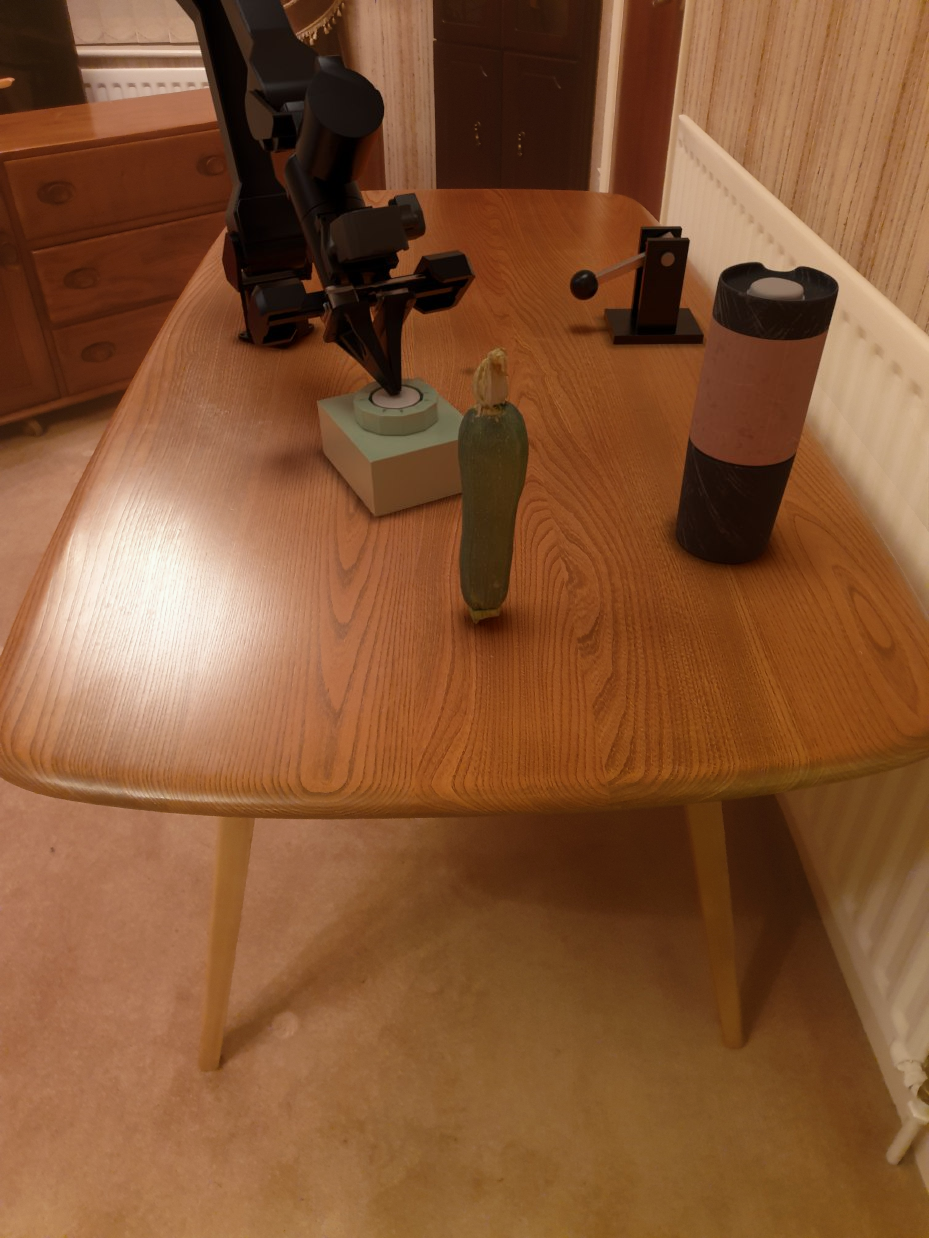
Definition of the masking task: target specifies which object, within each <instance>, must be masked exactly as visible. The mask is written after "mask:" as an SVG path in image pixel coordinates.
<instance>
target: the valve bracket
mask: <svg viewBox="0 0 929 1238" xmlns="http://www.w3.org/2000/svg"><path fill="white" fill-rule="evenodd" d="M668 232H671V234H672V235H673V237H674V238H657V237H659V236H661V235H664V234H666V233H668ZM682 234H683V227H682V225H667V226H666V225H665V226H663V225H662V226H661V225H659V226H658V225H657V226H656V225H654V226H651V225H650V226H649V225H648V226H647V225H646V226H640V231H639V238H638V246H637V254H636V255H639V254H641V253H643V252H645V258H644V266H642V267H639V268H637V269H635V270H634V271H635V272H634V279H633V289H632V297H631V304H630V308H604V310H603V311H604V312H603V320H604V323H605V325H606V328H607V330H608V333H609V336H610V339H611V342H612V345H615V346H617V345H618V346H619V345H625V346H626V345H703V343H704V336H705V334H704V332H703V331H702V329H701V327H700V325H699V323H698V321H697V320H696V318H695V316H694V314H693V312H692V311H691V309H690V308H689V307H681V302H682V301H681V300H682V295H683V288H684V282H685V275H686V269H687V263H688V258H689V257H688V256H689V252H690V251H689V250H690V243H691V239H690V238H689V237H682ZM646 242H647V243H646Z"/></svg>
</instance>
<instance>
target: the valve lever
mask: <svg viewBox="0 0 929 1238" xmlns="http://www.w3.org/2000/svg"><path fill="white" fill-rule="evenodd" d="M657 238H674V237H673V235H672V234H671V232H668V233H666V234H664V235H661V236H659V237H657ZM646 243H647V242H646ZM644 258H645V252H643V253H641V254H639V255H637V254H636V255H634V256H632V257H629V258H627V259H625V260H622V261H620V262H619V263H616V264H614V265H611V266H610V267H607V268H605V269H602V270H600V271H598V272H596V273H595V272H593V271H592V270H589V269H581V270H578V271H576V272H575V273H574V274H573V275H572V277H571V279H570V282H569V290H570V293H571V295H572V296H573V297H574V298H575V299H576V300H579V301H588V300H590V299H592V298H593V297H595V296H596V295H597V293H598V290H599V287H600V285H602V284H605V283H607V282H610V281H612V280H614V279H617V278H619V277H621V276H623V275H626V274H629V273H630V272H633V271H635V270H636V269H637V268H639V267H642V266H644Z"/></svg>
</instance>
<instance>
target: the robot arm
mask: <svg viewBox="0 0 929 1238" xmlns="http://www.w3.org/2000/svg"><path fill="white" fill-rule="evenodd" d="M175 2H176V3H177V4H178V5H179V7H180V8H181V9H182V10H183V12H184V13H185V14H186V15H187V17H188V18H189V19H190V20H191V21H192V23H193V25H194V28H195V33H196V37H197V41H198V45H199V49H200V50H199V51H200V54H201V57H202V58H201V59H202V62H203V66H204V71H205V74H206V79H207V83H208V87H209V91H210V96H211V99H212V105H213V109H214V113H215V116H216V121H217V127H218V129H219V133H220V137H221V142H222V147H223V150H224V155H225V159H226V162H227V163H226V164H227V167H228V171H229V176H230V180H231V184H232V190H231V194H230V197H229V199H228V204H227V207H226V209H225V210H226V211H225V214H224V221H225V226H226V230H227V231H226V232H225V234H224V240H223V249H222V256H221V263H222V268H223V271H224V275H225V279H226V281H227V282H228V283H229V284H230V286H231V287H232V288H233V289H234V290H235V291H236V292H237V293H239V295H240V301H241V307H242V313H243V319H244V326H245V330H243V331H242V332H240V333H239V334H238V335H237V336H238V340H240V341H245V342H250V343H253V344H254V346H255V347H258V348H265V347H269V346H270V347H275V348H281V349H285V348H288V347H290V346H291V345H292V344H294V343H296V342H297V341H299V340H300V339H302V338H303V337H304V336H307V334H309V333H310V332H312V331H313V330H315V328H316V327H315V324H314V323H310V322H309V320H310V319H316V318H319V319H320V321H321V323H323V326H324V328H325V329H324V331H323V334H322V340H323V342H324V343H325V344H331V343H332V344H333V343H334V344H335V345H337V346H338V347H339V348H340V349H342V350H343V351H344V352H345V353H347V355H349V356H350V357H351V358H353V359H354V361H356V362H357V363H358V364H359V365H360V366H361V367H362V368H363V369H364V370H365V371H366V372H367V373H368V374H369V375H370V376H371V377H372V378H373V380H374V381H377V382H378V384H379V385H380V386H381V387H382V388H383V389H384V390H385V391H386V392H387V393H388V394H389V395H390V396H393V395H397V394H399V393H400V392H401V390H402V379H403V378H402V377H403V376H402V375H403V374H402V369H403V368H402V334H403V326H404V324H405V322H406V320H407V318H408V317H409V315H410V314H411V312H412V310H413V309H414V310H416V311H417V312H419V313H420V314H422V315H431V314H435V313H439V312H445V311H450V310H451V309H453V308H455V307H457V306H458V305H459V303H460V301H461V300H462V299H463V297H464V296H465V294H466V292H467V291H468V289H469V288H470V286H471V285H472V283H473V282H474V280H475V279H476V277H477V276H476V274H475V270H474V268H473V266H472V263H471V260H470V258H469V257H468V256H467V255H466V254H465V253H464V252H462V251H461V250H459V249H455V250H450V251H448V250H447V251H443V252H436V253H432V254H426V255H422V256H421V258H420V259H419V262H418V263H417V265H416V267H415V269H414V271H413V273H410V274H405V275H399V276H395V277H392V275H391V270H395V269H396V270H397V267H398V265H399V263H400V259H399V256H398V253H400V252H402V251H403V252H407V251H408V250H410V245H409V241H416V240H418V239H419V238H421V237H423V236H424V235H425V234H426V231H427V225H426V220H425V215H424V211H423V207H422V206H421V203H420V201H419V199H418V197H417V194H416V192H410V193H402V194H396V195H395V196H393V198H390V199H388V201H387V205H385V206H379V207H373V205H368V206H367V205H366V201H365V200H364V196H363V194H362V191H361V188H360V186H359V183H358V179H359V178H361V177H362V176H363V174H364V173H365V172H366V170H367V168H368V164H369V161H370V158H371V156H372V153H373V151H374V147H375V144H376V141H377V138H378V136H379V135H378V134H379V132H380V129H381V127H382V123H383V120H384V117H385V110H386V109H385V107H386V106H385V102H384V98H383V96H382V94H381V91H380V90H379V89H377V88H376V87H375V85H374V84H373V83H372V82H371V81H370V80H369V79H368V78H367V77H365V76H364V75H362V74H361V73H359V72H358V71H355V70H353V69H350V68H348V67H346V66H345V63H344V60H343V57H342V55H340V54H334V55H332V54H331V55H321V54H320V53H319V52H318V51H316V50H315V49H314V48H312V47H311V46H309V45H308V44H307V43H305V42H304V41H302V40H301V39H299V37H298V36H297V34H296V32H295V30H294V29H293V26H292V23H291V21H290V19H289V16H288V14H287V11H286V9H285V6H284V4H283V1H282V0H175ZM288 152H293V153H292V154H290V156H289V157H288V158H287V160H286V162H285V165H284V168H283V171H282V177H283V180H284V184H285V186H284V185H283V184H282V182H281V181H280V180H279V179H278V177H277V174H276V170H275V164H274V161H273V156H272V154H279V153H288ZM313 265H314V268H315V271H316V274H317V276H318V280H319V282H320V285H321V288H322V290H317V291H312V292H307V291H306V288H305V285H304V282H303V281H311V280H312V279H313V277H312V274H313ZM372 319H373V320H372Z"/></svg>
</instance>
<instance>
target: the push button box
mask: <svg viewBox="0 0 929 1238" xmlns="http://www.w3.org/2000/svg"><path fill="white" fill-rule="evenodd" d="M402 386H403V387H409V388H412V389H414V390H416V391H417V392H418V393H419V394H420V402H419V403H418V404H416V405H415V406H412V407H407V408H403V409H384V408H381V407H377V406H374V405H373V404H372V396H373V394H374V393H375V392H377V391H378V390H380V389H383V388H382V387H381V386H380V385H379V384H378V382H377V381H376V380H374V381H371V382H369V383H366V385H364V386H362V387H361V388H359V389H358V390H357V389H356V391H354V392H349V393H345V394H344V393H343V394H340V395H335V396H331V397H327V398H323V399H318V400H316V403H317V404H316V405H317V411H318V412H317V413H318V421H319V428H320V435H321V443H322V451H323V454H324V455H325V457H326V458H327V460H328V461H329V462H330V463H331V464H332V465H333V467H334V468H335V469H336V470H337V472H338V473H339V474H340V475H341V477H342V478H343V479H344V480H345V482H346V483H347V484H348V485H349V487H350V488H351V489H352V490H353V492H354V493H355V494H356V495H357V496H358V498H359V499H360V500H361V501H362V503H363V504H364V505H365V506H366V508H367V509H368V510H369V511H370V512H371V514H372V515H373V517H375V518H379V517H382V516H385V515H388V514H392V513H395V512H400V511H402V510H403V511H404V510H406V509H410V508H413V507H416V506H420V505H424V504H428V503H430V502H434V501H437V500H441V499H445V498H448V497H451V496H455V495H458V494H462V485H461V478H460V467H459V461H458V433H459V428H460V425H461V422H462V419H463V417H464V414H462V413H461V412H460V411H459V410H458V409H457V408H455V407H454V406H453V405H452V404H451V403H450V402H449V401H448V400H446V398H444V397H443V396H442V395H441V394H440V393H439V392H438V390H436V389H435V388H434V387H432V385H431V384H429V383H427V382H426V381H425V380H424V379H423V378H422V377H415V378H402Z"/></svg>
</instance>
